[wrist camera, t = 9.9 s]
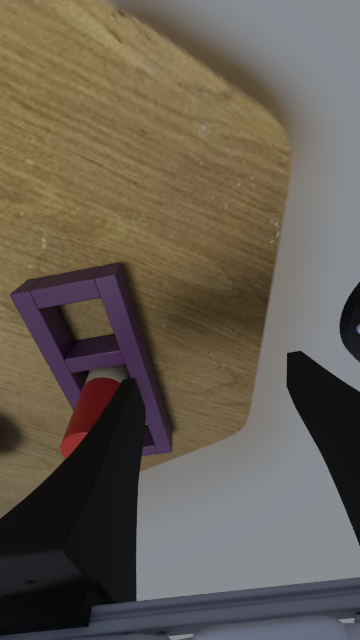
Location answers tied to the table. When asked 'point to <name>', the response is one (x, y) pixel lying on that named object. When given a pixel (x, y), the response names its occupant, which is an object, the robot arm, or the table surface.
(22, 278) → the table surface
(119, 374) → the cream token
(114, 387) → the cylinder
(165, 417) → the board
